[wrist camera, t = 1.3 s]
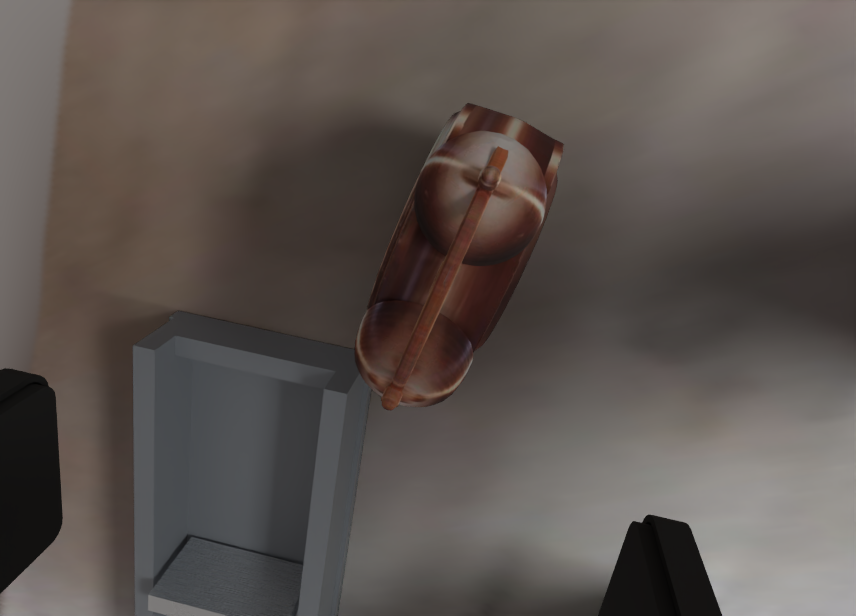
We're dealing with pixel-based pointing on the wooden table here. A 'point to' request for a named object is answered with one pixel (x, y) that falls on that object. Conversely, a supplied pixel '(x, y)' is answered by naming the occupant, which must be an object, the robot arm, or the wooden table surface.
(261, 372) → the tray
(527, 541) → the wooden table surface
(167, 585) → the pusher plate
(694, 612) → the robot arm
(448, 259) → the alarm clock
